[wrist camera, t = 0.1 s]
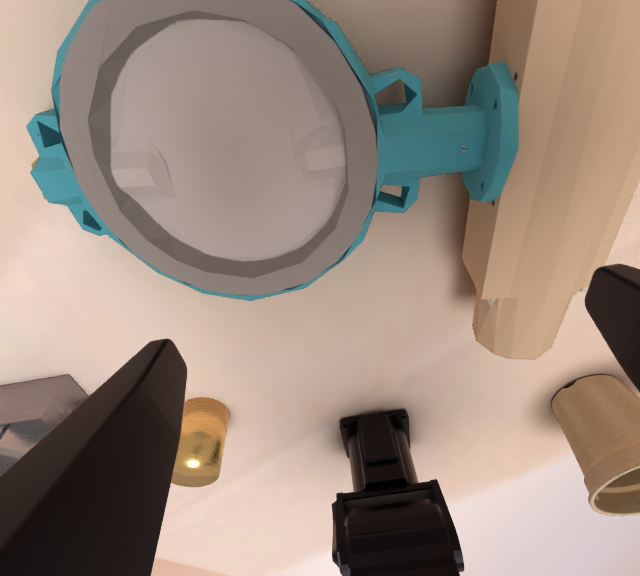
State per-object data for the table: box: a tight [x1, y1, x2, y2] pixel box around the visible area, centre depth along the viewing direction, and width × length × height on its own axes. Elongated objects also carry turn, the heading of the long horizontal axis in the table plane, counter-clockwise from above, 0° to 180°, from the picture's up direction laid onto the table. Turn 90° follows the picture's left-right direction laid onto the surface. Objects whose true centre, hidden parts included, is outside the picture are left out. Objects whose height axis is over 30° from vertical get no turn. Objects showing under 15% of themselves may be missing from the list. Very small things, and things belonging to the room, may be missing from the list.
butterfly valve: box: [26, 0, 640, 360], centre depth 18 cm, size 27×7×30 cm
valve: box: [0, 375, 89, 476], centre depth 31 cm, size 13×14×6 cm
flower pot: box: [552, 375, 640, 516], centre depth 31 cm, size 9×9×9 cm
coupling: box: [171, 398, 229, 487], centre depth 31 cm, size 4×4×6 cm
